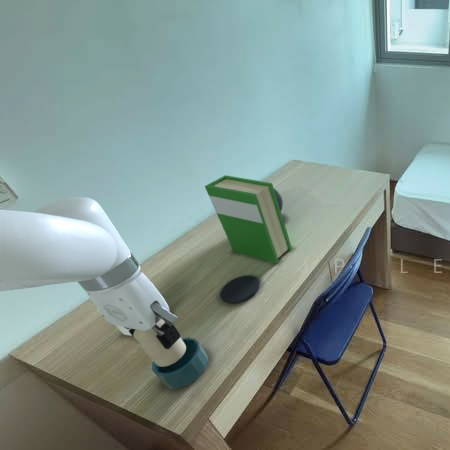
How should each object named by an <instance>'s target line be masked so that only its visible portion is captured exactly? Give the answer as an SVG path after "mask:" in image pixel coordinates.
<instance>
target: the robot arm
mask: <svg viewBox="0 0 450 450" xmlns="http://www.w3.org/2000/svg"><path fill="white" fill-rule="evenodd" d="M68 283H77V284H79V286H80V287H81V288H82V289H83V290H84V291H85V294H86V295H87V297H88V299H90V302H91V303H92V304H93V305H94V307H95V308H96V310H97V311H98V313H100V315H101V316H102V317H103V319H104V320H105V321H106V322H107V323H108V324H110V325H113V326H116V325H117V326H121V327H124V328H125V329H128V330H129V329H130V330H129V333H130V334H131V335H132V336H131V337H133V339H134V340H135V341H136V339H135V338H134V336H133V334H134V331H135V330H136V329H137V330H150V329H152V330H153V331H155V332H156V333H157V336H156V337H157V339H158V340H159V341H160V343H161V344H162V345H163V347H164V348H165V349H170V348H171V347H172V345H173V344H174V343H175V342H176V341H177V340H178V339H179V338H182V336H181V333H180V332H179V330H178V328H176V325H175V324H176V322H177V321H178V320H179V317H178V316H176V315H175V314H173V313H172V312H171V311H170V306H169V305H168V303H167V301H166V300H165V298H164V297H163V296H162V294H161V292H160V291H159V290H158V289H157V287H156V286H155V285H154V284H153V282H152V281H151V280H150V279H149V278H148V277H147V276H146V275H145V273H144V272H143V271H142V270H141V265H140V263H139V261H137V259H136V257H135V255H134V254H133V253H132V251H131V250H130V249H129V247H128V245H127V244H126V242H125V240H124V239H123V237H122V236H121V234H120V233H119V231H118V230H117V228H116V227H115V225H114V223H112V221H111V219H110V217H109V216H108V215H107V213H106V212H105V210H104V209H103V207H102V206H101V205H100V203H99V202H98V201H96V200H95V199H93V198H91V197H86V196H76V197H69V198H64V199H60V200H57V201H53V202H51V203H48V204H46V205H44V206H42V207H40V208H38V209H36V210H35V211H34V212H32V211H23V210H9V209H0V292H3V291H4V292H6V291H15V290H22V289H31V288H39V287H44V286H52V285H59V284H68ZM155 315H156V317H155ZM161 319H162V320H163V321H164V322H165V323H164V324H163V325H162V326H161V327H158V326H157V325H156V323H157V322H158V321H159V320H161ZM117 326H116V327H117Z"/></svg>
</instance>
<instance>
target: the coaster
mask: <svg viewBox="0 0 450 450" xmlns="http://www.w3.org/2000/svg"><path fill="white" fill-rule="evenodd" d="M259 289H260V281H259V279H258V278H257V277H256V276H254V275H241V276H238V277H235V278H233V279H232V280H230V281H228V282H227V283H225V284H224V286H223V287H222V289H221V291H220V299H221V300H222V302H224V303H226V304H228V305H229V304H230V305H236V304H240V303H243V302H246V301H248V300H250V299H251V298H252V297H254V296H255V295H256V294H257V292H258V291H259Z"/></svg>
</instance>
